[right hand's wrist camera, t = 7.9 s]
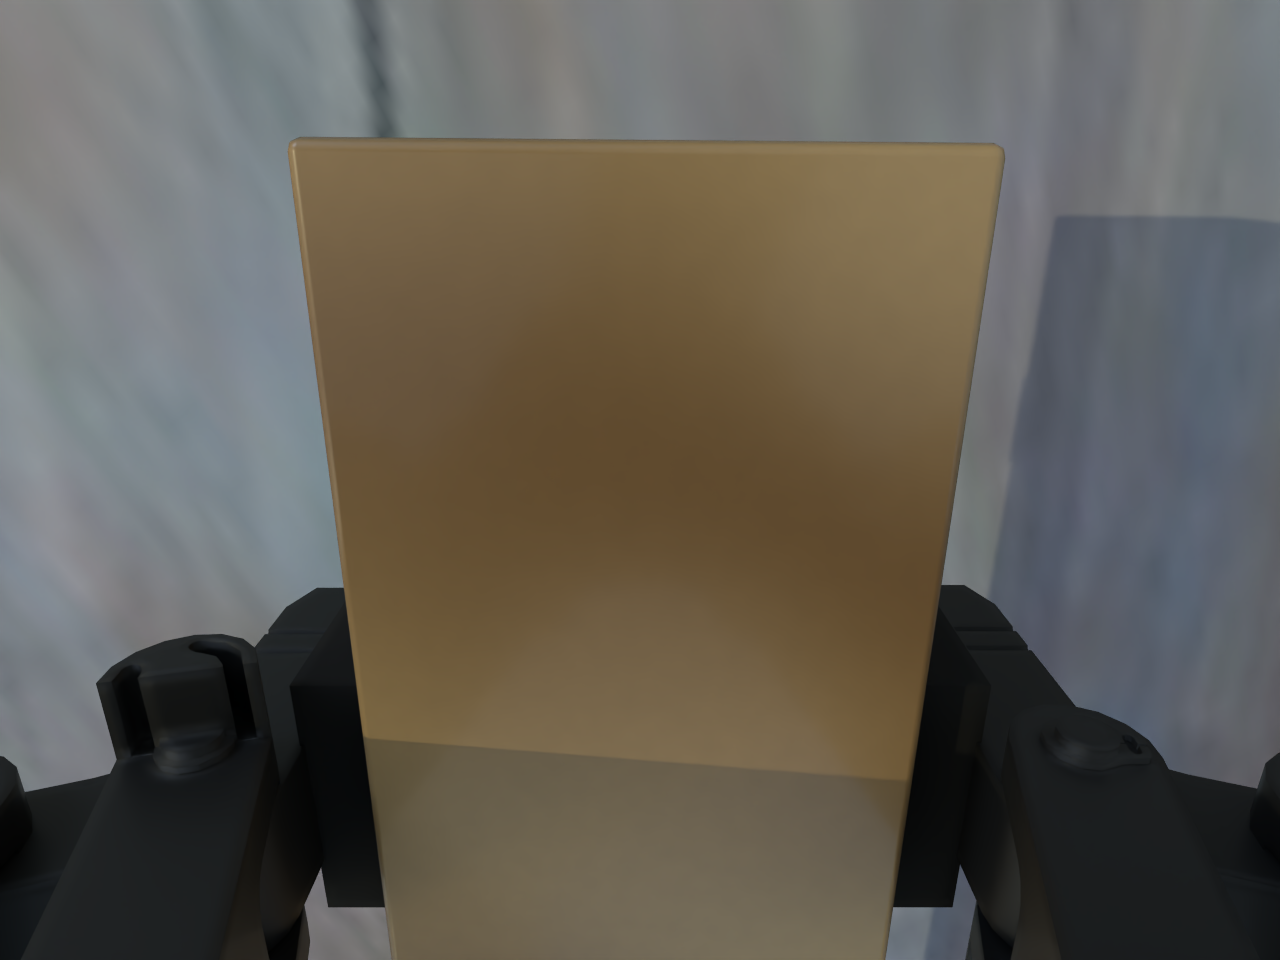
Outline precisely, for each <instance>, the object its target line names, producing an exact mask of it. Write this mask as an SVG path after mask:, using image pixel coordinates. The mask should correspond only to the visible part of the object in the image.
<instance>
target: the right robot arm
mask: <svg viewBox="0 0 1280 960" xmlns="http://www.w3.org/2000/svg"><path fill="white" fill-rule="evenodd" d="M96 685H97V689H98V692H99V696H100V700H101V703H102V707H103V711H104V714H105V718H106V722H107V725H108V729H109V733H110V736H111V740H112V744H113V747H114V751H115V755H116V758H117V760H116V763H115V765H114V767H113V769H112V771H111V773H110V774H107V775H104V776H100V777H96V778H92V779H87V780H82V781H78V782H73V783H68V784H63V785H58V786H53V787H48V788H43V789H39V790H34V791H29V792H24V789H23V786H22V782H21V779H20V776H19V773H18V770H17V767H16V766H15V765H13V764H12V763H11V762H10V761H8V760H7V759H6V758H5V757H2V756H0V960H308V954H309V946H310V937H309V929H308V922H307V917H306V911H305V906H304V904H305V902H306V900H307V897H308V895H309V893H310V891H311V889H312V886H313V884H314V882H315V880H316V877H317V875H318V873H319V871H320V868H321V869H322V874H323V880H324V886H325V891H326V897H327V903H328V907H385V903H384V895H383V888H382V880H381V872H380V864H379V856H378V849H377V841H376V833H375V825H374V818H373V810H372V802H371V794H370V787H369V779H368V771H367V763H366V755H365V748H364V740H363V732H362V724H361V717H360V709H359V701H358V693H357V686H356V678H355V670H354V662H353V655H352V647H351V639H350V631H349V623H348V616H347V608H346V600H345V592H344V588H316V589H314V590H313V591H311V592H310V593H308V594H306V595H305V596H303V597H302V598H300V599H299V600H297V601H295V602H294V603H292V604H291V605H289V606H287V607H286V608H285V609H284V611H283V612H282V613H281V615H280V616H279V617H278V618H277V620H276V621H275V622H274V623H273V625H272V626H271V627H270V629H269V633H268V634H265V635H264V636H263V638H262V639H261V640H260V641H259V643H258V644H257V645H256V646H255V648H254V647H253V646H252V645H251V644H249V643H248V642H247V641H245V640H244V639H242V638H237V637H233V636H228V635H224V634H211V635H192V636H187V637H183V638H178V639H173V640H168V641H164V642H161V643H159V644H156V645H153V646H151V647H148V648H146V649H143V650H140V651H138V652H135V653H134V654H132V655H130V656H129V657H127V658H125V659H124V660H122V661H120V662H119V663H117V664H115V665H114V666H112V667H111V668H110V669H109V670H108V671H107V672H106V673H105V674H104V675H103V676H102V678H101V679H100V680H99V681H98V682H97V683H96ZM960 865H961V867H962V869H963V871H964V874H965V876H966V878H967V880H968V883H969V885H970V887H971V889H972V891H973V894H974V896H975V898H976V900H977V901H976V906H975V911H974V917H973V922H972V927H971V933H970V938H969V943H968V948H967V954H966V959H965V960H1280V753H1278V754H1277V755H1275V756H1274V757H1273V758H1272V759H1270V760H1269V761H1268V762H1267V763H1266V764H1265V767H1264V770H1263V773H1262V776H1261V779H1260V782H1259V785H1258V788H1257V789H1256V788H1251V787H1246V786H1241V785H1236V784H1231V783H1227V782H1222V781H1217V780H1212V779H1207V778H1202V777H1197V776H1192V775H1188V774H1184V773H1180V772H1176V771H1173V770H1169V769H1168V767H1167V765H1166V763H1165V761H1164V759H1163V758H1162V756H1161V755H1160V754H1159V752H1158V751H1157V750H1156V749H1155V747H1154V746H1153V745H1152V744H1151V742H1150V741H1149V740H1148V739H1146V738H1145V737H1143V736H1142V735H1141V734H1139V733H1138V732H1136V731H1135V730H1134V729H1132V728H1131V727H1129V726H1128V725H1126V724H1124V723H1122V722H1120V721H1118V720H1115V719H1113V718H1111V717H1108V716H1106V715H1104V714H1102V713H1099V712H1096V711H1092V710H1087V709H1083V708H1079V707H1076V706H1075V705H1074V704H1073V702H1072V701H1071V700H1070V699H1069V697H1068V696H1067V695H1066V694H1065V692H1064V691H1063V690H1062V688H1061V687H1060V686H1059V685H1058V683H1057V682H1056V681H1055V680H1054V678H1053V677H1052V676H1051V675H1050V673H1049V672H1048V671H1047V670H1046V668H1045V667H1044V666H1043V664H1042V663H1041V662H1040V661H1039V659H1038V658H1037V657H1036V656H1035V654H1034V653H1033V652H1032V651H1031V650H1028V648H1027V644H1026V643H1025V642H1024V640H1023V639H1022V638H1021V637H1020V635H1019V634H1018V633H1017V632H1016V631H1013V627H1012V625H1011V624H1010V623H1009V621H1008V620H1007V619H1006V618H1005V616H1004V615H1003V614H1002V613H1001V611H1000V610H999V609H998V608H997V606H996V605H995V604H994V603H992V602H990V601H989V600H987V599H986V598H984V597H982V596H981V595H979V594H978V593H976V592H974V591H973V590H971V589H970V588H968V587H966V586H965V585H941V590H940V597H939V603H938V610H937V617H936V623H935V630H934V637H933V643H932V650H931V657H930V663H929V670H928V677H927V684H926V690H925V697H924V704H923V710H922V717H921V724H920V730H919V737H918V744H917V750H916V757H915V764H914V770H913V777H912V784H911V790H910V797H909V804H908V810H907V817H906V824H905V831H904V837H903V844H902V851H901V857H900V864H899V871H898V877H897V884H896V891H895V897H894V904H893V907H953V901H954V895H955V890H956V884H957V878H958V873H959V867H960Z"/></svg>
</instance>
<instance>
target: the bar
mask: <svg viewBox="0 0 1280 960" xmlns="http://www.w3.org/2000/svg"><path fill="white" fill-rule="evenodd" d="M288 157H289V165H290V173H291V181H292V188H293V196H294V204H295V212H296V219H297V227H298V235H299V243H300V251H301V258H302V266H303V274H304V282H305V289H306V297H307V305H308V313H309V320H310V328H311V336H312V344H313V352H314V359H315V367H316V375H317V383H318V390H319V398H320V406H321V414H322V421H323V429H324V437H325V445H326V453H327V460H328V468H329V476H330V484H331V491H332V499H333V507H334V515H335V522H336V530H337V538H338V546H339V554H340V561H341V569H342V577H343V585H344V592H345V600H346V608H347V616H348V623H349V631H350V639H351V647H352V655H353V662H354V670H355V678H356V686H357V693H358V701H359V709H360V717H361V724H362V732H363V740H364V748H365V755H366V763H367V771H368V779H369V787H370V794H371V802H372V810H373V818H374V825H375V833H376V841H377V849H378V856H379V864H380V872H381V880H382V888H383V895H384V903H385V911H386V919H387V926H388V934H389V942H390V950H391V957H392V960H885V957H886V951H887V944H888V937H889V931H890V924H891V917H892V911H893V904H894V897H895V891H896V884H897V877H898V871H899V864H900V857H901V851H902V844H903V837H904V831H905V824H906V817H907V810H908V804H909V797H910V790H911V784H912V777H913V770H914V764H915V757H916V750H917V744H918V737H919V730H920V724H921V717H922V710H923V704H924V697H925V690H926V684H927V677H928V670H929V663H930V657H931V650H932V643H933V637H934V630H935V623H936V617H937V610H938V603H939V597H940V590H941V583H942V577H943V570H944V563H945V557H946V550H947V543H948V537H949V530H950V523H951V516H952V510H953V503H954V496H955V490H956V483H957V476H958V470H959V463H960V456H961V450H962V443H963V436H964V430H965V423H966V416H967V410H968V403H969V396H970V390H971V383H972V376H973V369H974V363H975V356H976V349H977V343H978V336H979V329H980V323H981V316H982V309H983V303H984V296H985V289H986V283H987V276H988V269H989V263H990V256H991V249H992V243H993V236H994V229H995V222H996V216H997V209H998V202H999V196H1000V189H1001V182H1002V176H1003V169H1004V162H1005V154H1004V149H1003V148H1002V147H1000V146H998V145H996V144H994V143H927V142H815V141H703V140H591V139H479V138H367V137H299V138H296V139H294V140H292V141H290V143H289V148H288Z"/></svg>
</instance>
